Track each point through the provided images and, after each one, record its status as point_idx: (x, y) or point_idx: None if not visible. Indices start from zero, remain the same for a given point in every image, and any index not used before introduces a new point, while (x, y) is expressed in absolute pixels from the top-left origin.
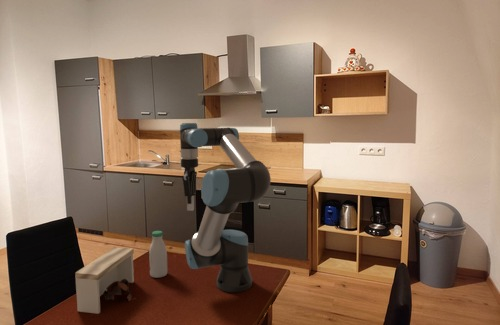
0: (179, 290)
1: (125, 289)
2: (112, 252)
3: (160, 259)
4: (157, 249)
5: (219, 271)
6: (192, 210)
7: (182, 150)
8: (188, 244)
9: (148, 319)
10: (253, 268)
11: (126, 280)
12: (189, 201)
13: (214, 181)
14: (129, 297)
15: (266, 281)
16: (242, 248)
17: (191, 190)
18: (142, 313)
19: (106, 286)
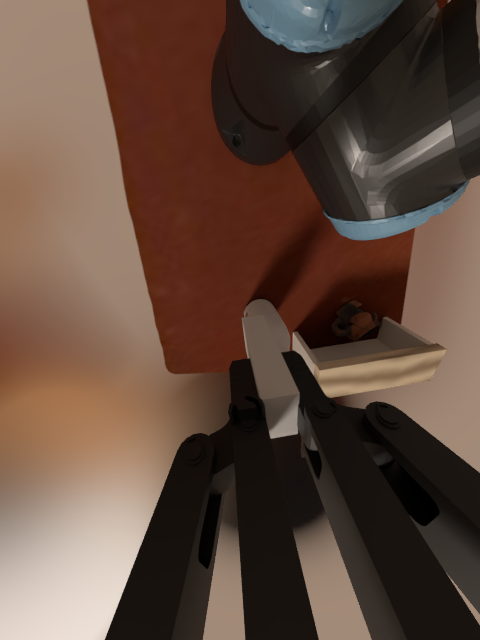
0: (312, 241)
1: (367, 313)
2: (342, 388)
3: (280, 318)
4: (288, 335)
5: (283, 140)
6: (263, 317)
7: None
8: (462, 191)
9: (410, 239)
10: (132, 66)
11: (340, 330)
12: (306, 369)
13: None
14: (357, 303)
15: None
16: None
17: (380, 491)
18: (391, 260)
19: (328, 350)
